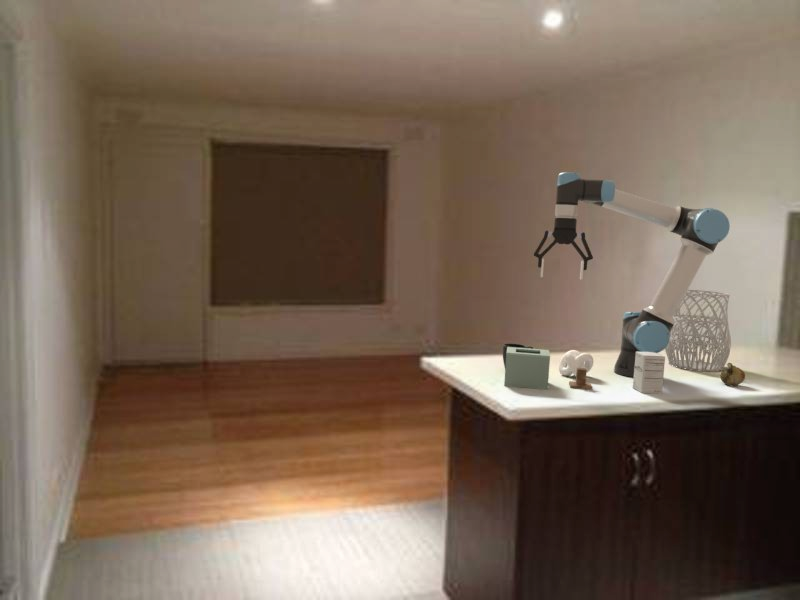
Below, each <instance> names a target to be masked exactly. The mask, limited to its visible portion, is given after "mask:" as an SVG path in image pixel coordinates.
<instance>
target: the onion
mask: <svg viewBox="0 0 800 600" xmlns="http://www.w3.org/2000/svg"><path fill="white" fill-rule="evenodd" d="M726 365H727V366H724V367H723V366H722V367H721V369H722V370H721V372H720V376H719V378H720V380H721V381H722V382H721V383H723V384H725V385H726V384H728V385H727V386H730V385H736V386H738V385H740V384H742V383H743V382H744V381H745V378H746V374H745V371H744V370H743V369H741V368H739V367H738V366H736V365H735V364H734V365H733V363H731V362H727V363H726Z"/></svg>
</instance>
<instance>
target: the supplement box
mask: <svg viewBox="0 0 800 600" xmlns="http://www.w3.org/2000/svg"><path fill="white" fill-rule="evenodd" d="M665 362H666V356H665V355H662V354H661V353H656V352H636V356H635V367H634V377H632V378H633V381H632V389H635V390H637V391H638V392H640V393H642V394H660V395H661V394H662V393H663V385H664V383H663V382H664V374H665V373H664V372H665V364H666V363H665Z"/></svg>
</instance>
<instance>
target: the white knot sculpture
mask: <svg viewBox="0 0 800 600" xmlns="http://www.w3.org/2000/svg"><path fill="white" fill-rule="evenodd" d="M593 366H594V357H593V356H592V355H591V354H590V353H587V352H583V353H581V352H580V351H578V350H577V349H576V350H575V349H570V350H568V351H567V352H565V353H564V354H563V355H562V356H561V358H560V360H559V362H558V372H559V373H560V374H561V375H562V376H564V377H569V376H571V375H574V376H575V377H576V371H577V368H586V370H587V372H586V374H587V373H589V372H590V371H591V370H592V368H593Z"/></svg>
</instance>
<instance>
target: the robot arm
mask: <svg viewBox="0 0 800 600" xmlns="http://www.w3.org/2000/svg"><path fill="white" fill-rule="evenodd" d="M579 201H580V202H583V203H586V204H592V205H595V206H598V207H600V208H601V207H602V208H604V209H608V210H611V211H613V212H617V213H621V214H623V215H626V216H629V217H633V218H636V219H640V220H642V221H645V222H648V223H651V224H653V225H654V224H655V225H658V226H661V227H664V228H667V231H669V232H670V233H674V234H676V235H679V236H680V241H681V246H680V248H679V250H678V253H676V256H675V257H674V259H673V261H672V263H671V266H670V267H669V269H668V271H667V273H666V275H665V277H664V278H663V280H662V282H661V284H660V285H659V288H658V289H657V291H656V293H655V295H654V297H653V299H652V300H651V303H650V304H649V306H647V307H644V308H642V310H641V311H626V312H625V313H623V318H622V331H621V340H620V353H619V354H618V357H617V359H616V362H615V364H614V369H613V372H614V373H616V374H617V375H621V376H625V377H631V378H634V367H635V356H636V352H656V353H658V354H660V353H661V352H662V351H664V350H666V349H665V348H666V347H667V345H668V343H669V340H670V331H671V329H672V327H674V325H675V323H674V321H675V320H674V321H673V316H674V314H675V312H676V310H677V309H678V307H680V306H679V305H680V303H681V301H682V299H683V297H684V296H685V294H686V292H688V291H687V290H688V289H689V288H690V286H691V284H692V283H693V281H694V279H695V277H696V275H697V274H698V272H699V270H700V268H701V267H702V266H701V265H702V264H703V262H704V260H706V259H705V258H706V257H707V256H709V255H711V254H713V253H714V252H715V250H716V248H717V246H718V245H719V243H720V242H722V241H723V240H724V239H725V238H726V237H727V236H728V235H729V231H730V226H731V225H730V220H729V218H728V217H727V216H728V215H726V214H725V213H724V212H723V211H722V210H719V209H716V208H712V207H706V208H687V207H684V206H681V205H678V206H675V207H673V206H670V205H667V204H664V203H661V202H658V201H655V200H651V199H648V198H645V197H641V196H639V195H635V194H632V193H631V192H626V191H622V190H620V189H617V188H616V183H615V182H614V181H613V180H609V179H584V178H581V174H580V173H579V172H572V171H571V172H568V171H564V172H560V173H559V174H558V176H557V184H556V195H555V210H554V216H555V217H554V224H553V230H552V231H549V230H544V234H543V237H542V238H541V241H540V242H539V244H538V246H537V247H536V249H535V251H534V252H533V256H534V257H536V258H538V263H537V267H538V268H539V269H540V278H544V267H545V266H544V265H545V258H543V257H544V256H545V255H546V254H547V253H548V252H549V251H551V249H553V247H554V246H555V245H556V244H559V245H572V246H573V248H574V250H576V252H577V253H578V255H580V257H581V259H583V260H581V262H580V271H579V272H580V274H579V280H581V281H583V280H584V279H583V278H584V271H587V269H588V262H589V261H591V260H593V258H594V256H593V254H592V252H591V250H590V247H589V244H588V243H587V240H586V233H585V232H577V224H578V223H577V221H578V219H577V217H578V209H579V208H578V207H579ZM551 236H552V237H553V238H554V239H553V240H552V242H551V243H549V244H548V246H546V248H544V250H543V251H542V252H541V253H540V251H541V250H542V247H544V244H545V243H546V241H547V238H550V237H551ZM577 237H578V239H580V240H581V243H582V245H583V247H584V249H585V252H586V254H587V256H586V255H585V253H584V252H583V250H582V249H581V248H580V247H579V245H578V244H577V242H575V239H576V238H577ZM539 253H540V254H539ZM682 302H683V301H682ZM681 304H682V303H681Z"/></svg>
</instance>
